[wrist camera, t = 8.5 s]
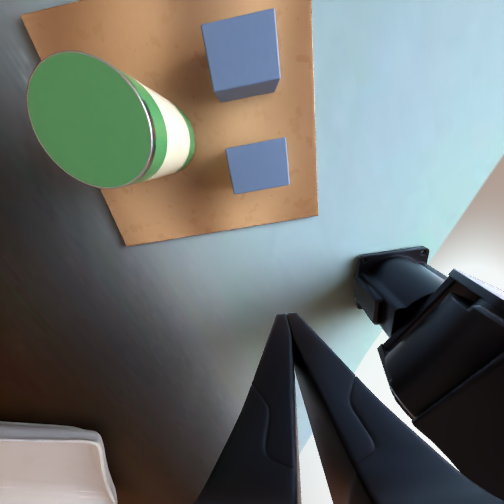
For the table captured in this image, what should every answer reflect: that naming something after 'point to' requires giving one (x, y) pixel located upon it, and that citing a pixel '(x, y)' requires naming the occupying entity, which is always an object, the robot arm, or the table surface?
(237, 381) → the table surface
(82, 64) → the green tin
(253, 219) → the cork mat
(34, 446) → the square plate
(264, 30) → the blue blocks
